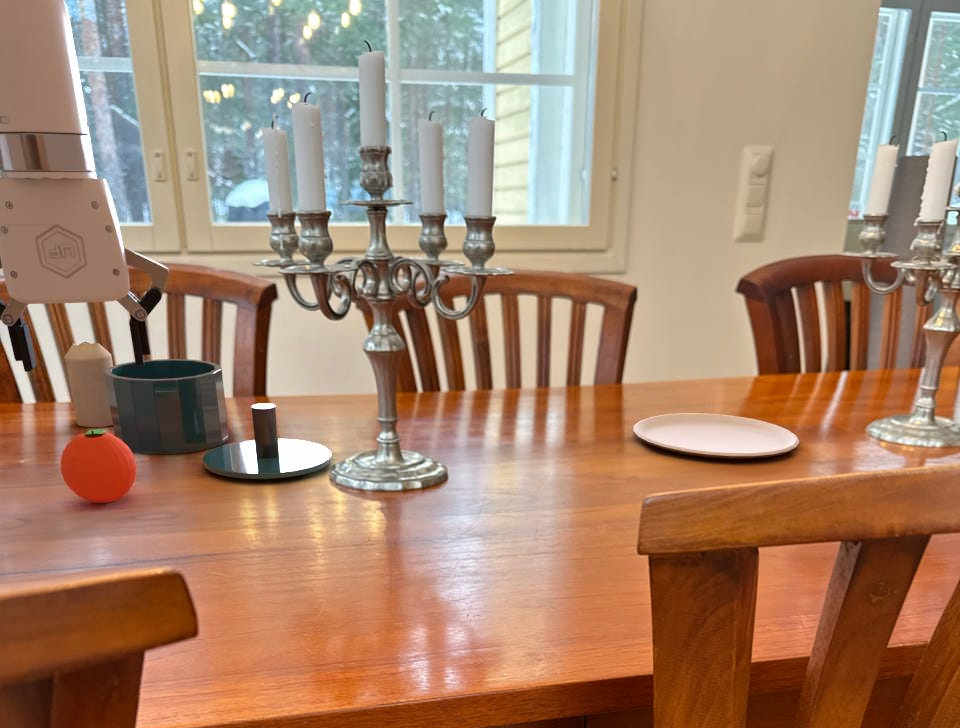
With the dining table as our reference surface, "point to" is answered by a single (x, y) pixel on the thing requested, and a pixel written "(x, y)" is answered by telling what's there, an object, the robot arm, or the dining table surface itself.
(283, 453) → the lid
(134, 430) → the pot
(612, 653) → the dining table surface
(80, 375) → the candle
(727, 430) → the plate
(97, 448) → the clementine
